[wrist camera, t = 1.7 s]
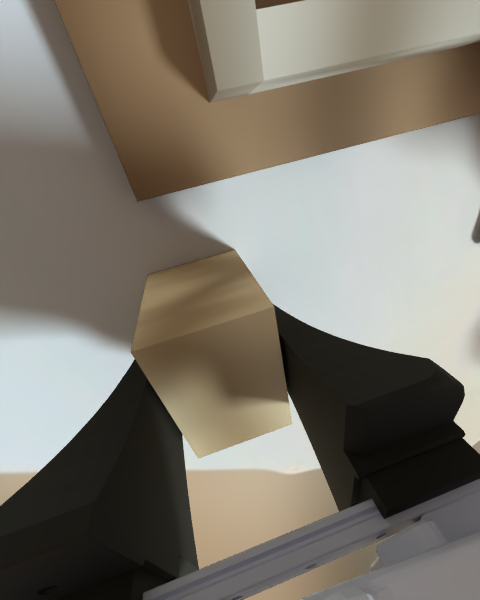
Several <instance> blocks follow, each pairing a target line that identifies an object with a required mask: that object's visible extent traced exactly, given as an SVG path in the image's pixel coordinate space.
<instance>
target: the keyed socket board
mask: <svg viewBox="0 0 480 600" xmlns="http://www.w3.org/2000/svg"><path fill="white" fill-rule="evenodd" d="M54 1H55V4H56V6H57V8H58V11H59V13H60V16H61V18H62V21H63V23H64V25H65V28H66V30H67V33H68V35H69V37H70V40H71V42H72V45H73V47H74V50H75V52H76V54H77V57H78V59H79V62H80V64H81V66H82V69H83V71H84V74H85V76H86V79H87V81H88V83H89V86H90V88H91V91H92V93H93V95H94V98H95V100H96V103H97V105H98V108H99V110H100V112H101V115H102V117H103V120H104V122H105V124H106V127H107V129H108V132H109V134H110V137H111V139H112V141H113V144H114V146H115V149H116V151H117V153H118V156H119V158H120V161H121V163H122V166H123V168H124V170H125V173H126V175H127V178H128V180H129V182H130V185H131V187H132V190H133V192H134V195H135V197H136V199H137V202H138V201H141V200H145V199H149V198H153V197H157V196H161V195H165V194H169V193H173V192H176V191H180V190H184V189H188V188H192V187H196V186H200V185H204V184H208V183H211V182H215V181H219V180H223V179H227V178H231V177H235V176H239V175H242V174H246V173H250V172H254V171H258V170H262V169H266V168H270V167H274V166H277V165H281V164H285V163H289V162H293V161H297V160H301V159H305V158H308V157H312V156H316V155H320V154H324V153H328V152H332V151H336V150H340V149H343V148H347V147H351V146H355V145H359V144H363V143H367V142H371V141H375V140H378V139H382V138H386V137H390V136H394V135H398V134H402V133H406V132H409V131H413V130H417V129H421V128H425V127H429V126H433V125H437V124H441V123H444V122H448V121H452V120H456V119H460V118H464V117H468V116H472V115H475V114H479V113H480V0H54Z"/></svg>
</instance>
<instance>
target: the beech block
mask: <svg viewBox="0 0 480 600" xmlns="http://www.w3.org/2000/svg"><path fill="white" fill-rule="evenodd" d="M131 353H132V355H133V357H134V358H135V360H136V361H137V363H138V364H139V366H140V368H141V369H142V371H143V372H144V374H145V375H146V377H147V379H148V380H149V382H150V383H151V385H152V387H153V388H154V390H155V391H156V393H157V394H158V396H159V398H160V399H161V401H162V402H163V404H164V405H165V407H166V409H167V410H168V412H169V413H170V415H171V416H172V418H173V420H174V421H175V423H176V424H177V426H178V427H179V429H180V431H181V432H182V434H183V435H184V437H185V439H186V440H187V442H188V443H189V445H190V446H191V448H192V450H193V451H194V453H195V454H196V456H197V457H198V458H201V457H204V456H206V455H209V454H212V453H215V452H217V451H220V450H223V449H225V448H228V447H231V446H234V445H236V444H239V443H242V442H244V441H247V440H250V439H253V438H255V437H258V436H261V435H263V434H266V433H269V432H272V431H274V430H277V429H280V428H283V427H285V426H288V425H291V424H292V419H291V413H290V406H289V400H288V393H287V387H286V380H285V374H284V367H283V361H282V354H281V348H280V341H279V335H278V328H277V322H276V315H275V309H274V306H273V304H272V303H271V301H270V300H269V298H268V297H267V295H266V294H265V293H264V291H263V290H262V288H261V287H260V285H259V284H258V282H257V281H256V279H255V278H254V277H253V275H252V274H251V272H250V271H249V269H248V268H247V266H246V265H245V263H244V262H243V261H242V259H241V258H240V256H239V255H238V253H237V252H236V250H232V251H229V252H225V253H222V254H218V255H215V256H211V257H208V258H204V259H201V260H198V261H194V262H191V263H187V264H184V265H180V266H177V267H173V268H170V269H166V270H163V271H159V272H156V273H152V274H149V275H148V276H147V280H146V285H145V289H144V294H143V298H142V303H141V307H140V312H139V316H138V321H137V325H136V330H135V334H134V339H133V343H132V348H131Z"/></svg>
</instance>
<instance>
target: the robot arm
mask: <svg viewBox="0 0 480 600" xmlns="http://www.w3.org/2000/svg"><path fill="white" fill-rule="evenodd" d="M273 306H274V309H275V315H276V322H277V328H278V335H279V341H280V348H281V354H282V361H283V367H284V374H285V380H286V387H287V392H288V393H289V395H290V397H291V399H292V401H293V404H294V406H295V408H296V410H297V412H298V415H299V417H300V419H301V421H302V424H303V426H304V428H305V431H306V433H307V435H308V437H309V440H310V442H311V444H312V447H313V449H314V451H315V454H316V456H317V459H318V461H319V463H320V466H321V468H322V470H323V473H324V475H325V478H326V480H327V483H328V485H329V487H330V490H331V492H332V495H333V497H334V500H335V502H336V505H337V507H338V509H339V512H337V513H335V514H333V515H330V516H328V517H325V518H323V519H320V520H318V521H316V522H313V523H311V524H308V525H306V526H304V527H301V528H299V529H296V530H294V531H291V532H289V533H286V534H284V535H282V536H279V537H277V538H275V539H272V540H270V541H267V542H265V543H262V544H260V545H257V546H255V547H253V548H250V549H248V550H245V551H243V552H241V553H238V554H236V555H233V556H231V557H228V558H226V559H224V560H221V561H219V562H216V563H214V564H211V565H209V566H207V567H204V568H202V569H199V567H198V561H197V554H196V547H195V541H194V534H193V527H192V520H191V512H190V505H189V497H188V489H187V480H186V470H185V461H184V450H183V439H182V432H181V431H180V429H179V427H178V426H177V424H176V423H175V421H174V420H173V418H172V416H171V415H170V413H169V412H168V410H167V409H166V407H165V405H164V404H163V402H162V401H161V399H160V398H159V396H158V394H157V393H156V391H155V390H154V388H153V387H152V385H151V383H150V382H149V380H148V379H147V377H146V375H145V374H144V372H143V371H142V369H141V368H140V366H139V364H138V363H137V361H136V360H134V361H133V363H132V365H131V366H130V368H129V369H128V371H127V372H126V374H125V375H124V377H123V378H122V380H121V381H120V382H119V384H118V385H117V387H116V388H115V390H114V391H113V392H112V394H111V395H110V396H109V398H108V399H107V400H106V401H105V403H104V404H103V405H102V406H101V408H100V409H99V410H98V411H97V412H96V414H95V415H94V416H93V417H92V418H91V419H90V420H89V421H88V423H87V424H86V425H85V426H84V427H83V428H82V429H81V430H80V431H79V432H78V433H77V435H76V436H75V437H74V438H73V439H72V440H71V441H70V442H69V443H68V444H67V445H66V446H65V447H64V448H63V449H62V450H61V451H60V452H59V453H58V454H57V455H56V456H55V457H54V458H53V459H52V460H51V461H50V462H49V463H48V464H47V465H46V466H45V467H44V468H43V469H42V470H40V471H39V472H38V473H37V474H36V475H35V476H34V477H33V478H32V479H31V480H30V481H29V482H28V483H26V484H25V485H24V486H23V487H22V488H21V489H19V490H18V491H17V492H16V493H15V494H14V495H13V496H12V497H10V498H9V499H8V500H7V501H6V502H5V503H3V505H1V506H0V600H243V599H246V598H248V597H250V596H253V595H255V594H257V593H260V592H262V591H264V590H266V589H269V588H271V587H273V586H276V585H278V584H280V583H283V582H285V581H287V580H290V579H292V578H294V577H296V576H299V575H301V574H303V573H306V572H308V571H310V570H313V569H315V568H317V567H320V566H322V565H324V564H326V563H329V562H331V561H333V560H336V559H338V558H340V557H343V556H345V555H347V554H350V553H352V552H354V551H357V550H359V549H361V548H364V547H366V546H368V545H370V544H372V543H375V542H377V541H380V540H382V539H384V538H386V537H389V536H391V535H393V534H395V535H393V536H392V537H390V538H389V539H387V540H385V541H384V542H382V543H381V544H379V545H377V548H376V552H377V554H378V557H377V558H376V559H375V560H374V562H373V563H372V564H371V568H370V569H371V572H369V573H366V574H364V575H361V576H358V577H355V578H353V579H350V580H347V581H345V582H342V583H340V584H337V585H334V586H332V587H329V588H327V589H324V590H322V591H319V592H316V593H314V594H311V595H309V596H307V597H305V598H302V599H299V600H480V454H479V453H478V452H477V451H476V450H475V449H473V448H472V447H471V446H470V445H469V444H468V443H467V442H466V441H465V440H464V439H463V438H462V437H464V436H465V433H464V431H463V430H462V429H461V428H460V427H459V426H458V425H457V424H456V423H455V422H454V421H453V420H454V418H455V416H456V414H457V412H458V410H459V408H460V406H461V404H462V402H463V399H464V396H465V393H464V386H463V385H462V384H461V383H460V382H459V381H458V380H457V379H455V378H454V377H453V376H451V375H450V374H449V373H448V372H446V371H445V370H444V369H443V368H441V367H440V366H439V365H437V364H436V363H434V362H433V361H432V360H430V359H428V358H422V357H416V356H411V355H405V354H399V353H394V352H389V351H385V350H380V349H376V348H372V347H368V346H364V345H361V344H357V343H354V342H351V341H348V340H345V339H341V338H339V337H336V336H333V335H331V334H328V333H326V332H323V331H321V330H318V329H316V328H314V327H312V326H310V325H308V324H306V323H304V322H302V321H300V320H298V319H296V318H295V317H293V316H291V315H289V314H288V313H286V312H284V311H283V310H281V309H280V308H278V307H277V306H275V305H274V304H273ZM396 533H397V534H396Z"/></svg>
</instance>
